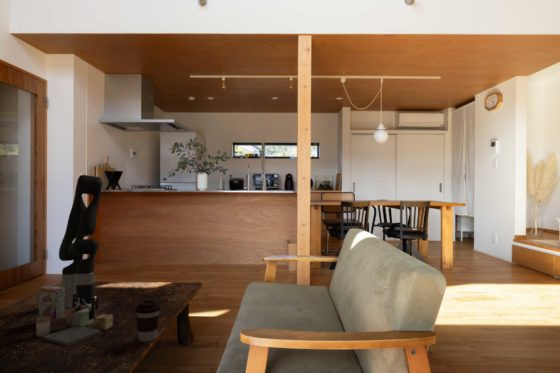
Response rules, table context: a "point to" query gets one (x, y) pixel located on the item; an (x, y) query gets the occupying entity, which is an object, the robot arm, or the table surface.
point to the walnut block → (58, 324)
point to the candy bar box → (52, 302)
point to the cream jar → (43, 326)
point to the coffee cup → (147, 320)
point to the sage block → (82, 318)
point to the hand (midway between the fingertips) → (84, 317)
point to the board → (71, 335)
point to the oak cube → (104, 321)
